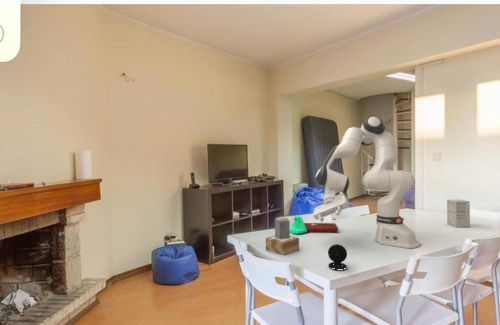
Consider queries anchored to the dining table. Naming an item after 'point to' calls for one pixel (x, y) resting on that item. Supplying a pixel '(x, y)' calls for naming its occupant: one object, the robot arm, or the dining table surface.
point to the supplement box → (458, 213)
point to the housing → (282, 228)
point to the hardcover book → (321, 227)
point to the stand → (282, 245)
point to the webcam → (337, 256)
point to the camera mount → (298, 226)
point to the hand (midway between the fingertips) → (329, 217)
